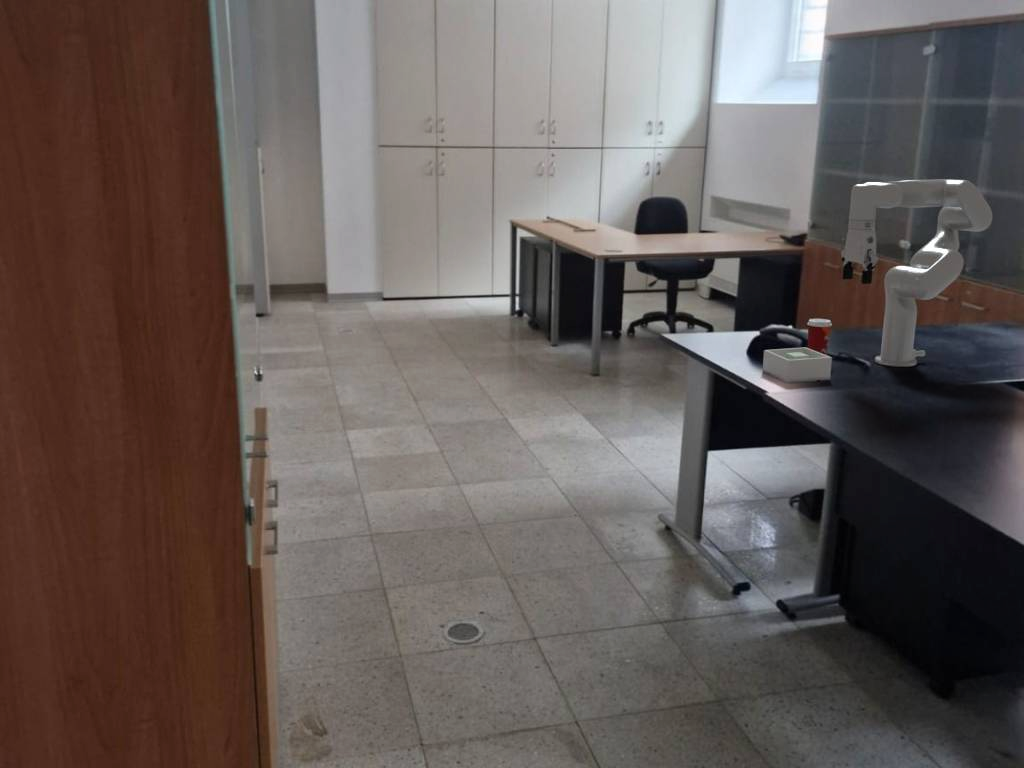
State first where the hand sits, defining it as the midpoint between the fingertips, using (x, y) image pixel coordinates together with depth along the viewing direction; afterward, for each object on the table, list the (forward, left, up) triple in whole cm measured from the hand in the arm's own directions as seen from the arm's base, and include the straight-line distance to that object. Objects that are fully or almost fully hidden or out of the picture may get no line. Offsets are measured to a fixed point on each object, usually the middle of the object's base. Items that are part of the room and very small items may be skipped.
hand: (856, 281), depth 278 cm
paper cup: (+4, -12, -28) cm, 31 cm away
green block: (+20, +2, -28) cm, 34 cm away
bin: (+20, +2, -28) cm, 35 cm away
